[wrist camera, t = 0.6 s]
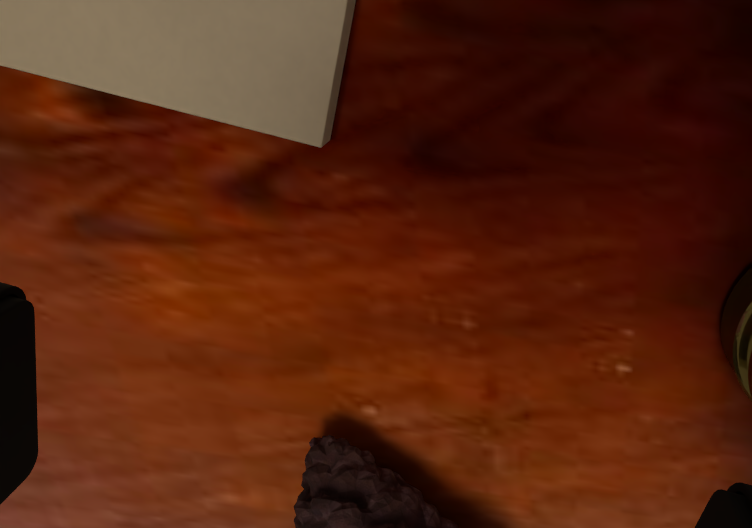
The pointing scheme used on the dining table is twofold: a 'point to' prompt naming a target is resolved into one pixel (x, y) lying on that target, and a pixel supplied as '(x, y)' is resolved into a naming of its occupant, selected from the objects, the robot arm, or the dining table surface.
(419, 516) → the pine cone
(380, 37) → the dining table surface
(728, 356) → the brass cabinet knob
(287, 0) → the white base plate
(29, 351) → the robot arm
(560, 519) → the dining table surface
